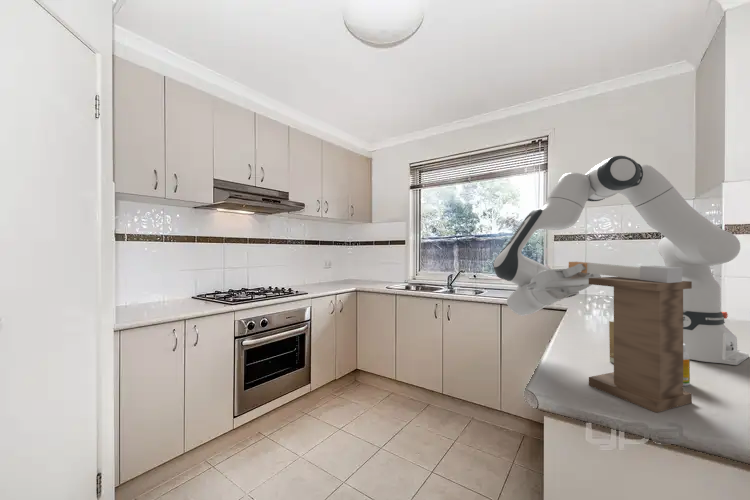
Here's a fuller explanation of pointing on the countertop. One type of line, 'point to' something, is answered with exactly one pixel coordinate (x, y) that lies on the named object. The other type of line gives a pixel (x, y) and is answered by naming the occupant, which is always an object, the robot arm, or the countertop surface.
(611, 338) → the skincare box
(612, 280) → the stand
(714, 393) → the countertop surface
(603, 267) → the grey tan flat bar
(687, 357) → the supplement bottle
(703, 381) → the countertop surface
